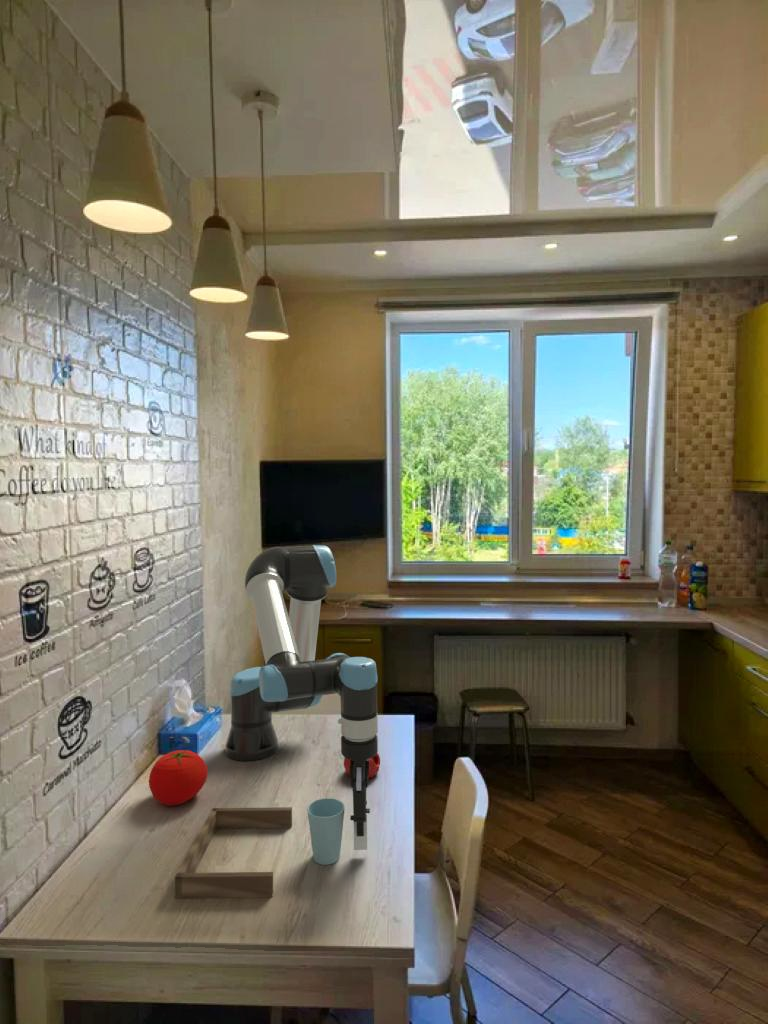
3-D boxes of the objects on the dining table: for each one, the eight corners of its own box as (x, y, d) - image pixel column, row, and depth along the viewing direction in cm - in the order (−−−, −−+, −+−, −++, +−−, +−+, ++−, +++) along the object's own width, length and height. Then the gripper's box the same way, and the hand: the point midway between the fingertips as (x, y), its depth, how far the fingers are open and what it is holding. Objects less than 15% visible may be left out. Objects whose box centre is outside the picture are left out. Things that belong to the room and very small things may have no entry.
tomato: (163, 785, 152) (162, 741, 152) (214, 787, 151) (214, 742, 151) (138, 812, 140) (137, 763, 139) (194, 814, 139) (193, 765, 138)
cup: (302, 852, 123) (301, 803, 123) (335, 841, 127) (335, 794, 127) (316, 872, 116) (315, 821, 116) (351, 860, 120) (350, 810, 120)
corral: (213, 825, 134) (212, 808, 134) (292, 824, 134) (291, 807, 134) (175, 898, 109) (175, 877, 109) (272, 897, 109) (271, 876, 109)
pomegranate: (348, 786, 151) (347, 751, 151) (340, 769, 161) (339, 735, 161) (385, 780, 154) (384, 745, 154) (374, 763, 164) (373, 730, 163)
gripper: (343, 722, 127) (344, 829, 128) (338, 748, 114) (340, 867, 115) (377, 722, 128) (378, 829, 128) (377, 748, 115) (378, 867, 115)
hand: (360, 847), depth 122 cm, fingers closed
